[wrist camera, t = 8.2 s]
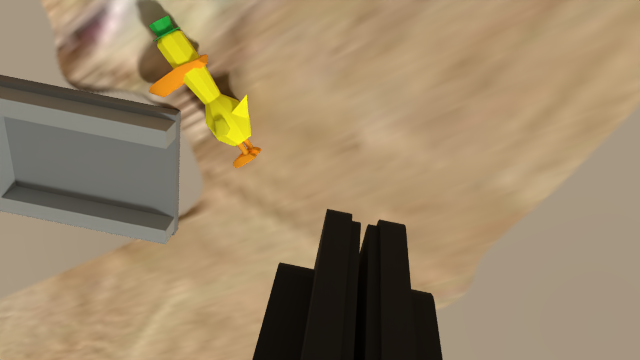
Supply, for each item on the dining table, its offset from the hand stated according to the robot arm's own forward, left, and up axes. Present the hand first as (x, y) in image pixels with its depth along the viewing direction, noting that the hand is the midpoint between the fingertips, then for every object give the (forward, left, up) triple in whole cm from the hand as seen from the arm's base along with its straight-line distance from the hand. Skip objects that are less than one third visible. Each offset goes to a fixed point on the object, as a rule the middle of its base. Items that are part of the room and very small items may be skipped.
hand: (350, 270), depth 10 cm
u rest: (+16, -21, -27) cm, 38 cm away
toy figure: (+12, -7, -25) cm, 29 cm away
